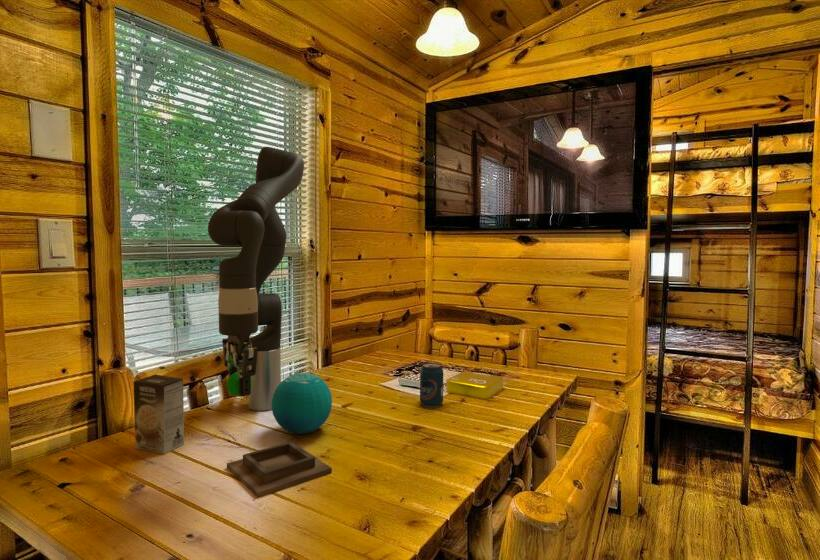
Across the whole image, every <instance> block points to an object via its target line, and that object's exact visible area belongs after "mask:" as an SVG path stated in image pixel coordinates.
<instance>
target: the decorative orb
mask: <svg viewBox="0 0 820 560" xmlns="http://www.w3.org/2000/svg"><path fill="white" fill-rule="evenodd" d="M332 405H333V396H332V391H331V389H330V387H329V386H328V384H327V383H326V382H325V381H324V380H323V379H322V378H321V377H319V376H317V375H315V374H313V373H309V372H298V373H294V374H292V375H290V376H288V377H286V378H284V379H283V380H281V383H280V384H279V385H278V387H277V389H276V390H275V392H274V395H273V398H272V409H271V411H272V412H271V413H272V415H273V417H274V419H275V421H276V423H277V424H278V425H279V426H280V427H281V428H282V429H284V430H285V431H287V432H288V433H291V434H297V435H305V434H308V433H312V432H314V431H316V430H318V429H319V428H321V426H323V425H324V424H325V422H326V421H327V419H328V418H329V417H330V414H331V411H332V407H333V406H332Z"/></svg>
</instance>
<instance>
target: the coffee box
mask: <svg viewBox="0 0 820 560" xmlns="http://www.w3.org/2000/svg"><path fill="white" fill-rule="evenodd" d="M133 403H134V405H133V407H134V410H133V411H134V412H133V413H134V438H135V439H134V443H135V447H134V448H135V449H137V450H138V449H139V450H143V451H148V452H151V453H156V454H162V455H166V454H169V452H172V451H174V450H175V449H178V448H180V447H182V446H183V445H185V420H184V419H185V416H184V414H185V411H184V410H185V408H184V407H185V406H184V378H182V377H181V378H180V377H174V376H168V375H161V374H153V375H150V376H147V377H143V378H140V379H137V380H134V381H133Z"/></svg>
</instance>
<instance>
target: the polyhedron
mask: <svg viewBox="0 0 820 560" xmlns="http://www.w3.org/2000/svg"><path fill="white" fill-rule="evenodd" d="M238 378H239V377H238V372H235V373H233V374H232V375H230V377H229V376H228V378H227V380H226V384H225V385H226V390H227V391H228V392H229V394H230V396H233V397H238V398H241V397H242V396H240V395H239V379H238ZM251 387H252V379H251Z"/></svg>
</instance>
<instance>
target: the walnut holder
mask: <svg viewBox="0 0 820 560" xmlns="http://www.w3.org/2000/svg"><path fill="white" fill-rule="evenodd" d="M226 468H227V470H229V472H230V473H232V474H233V475H234V476H235V478H237V479H238V480H239V481H240V482H241V483H242V484H243V485H244V486H245V487H246V488H247V489H248V490H249V491H250V492H251V493H252V494H253V495H254V496H255V497H256V498H262V497H264V496H267V495H269V494H273V493H275V492H279V491H282V490H284V489H288V488H290V487H293V486H296V485H300V484H302V483H305V482H308V481H311V480H314V479H317V478H320V477H323V476H326V475H329V474H332V472H333V471H332V470H333V469H332V467H331V466H330V465H328V464H327V463H325V462H324V461H322V460H321V459H319V458H318V457H316V456H315V455H313V454H311V453H310V452H309V451H307V450H306V449H305V448H302V447H301V446H300V445H298V444H297V443H294V442H293V441H288V442H285V443H280V444H277V445H273V446H270V447H266V448H262V449H259V450H255V451H251V452H248V453H245V454H242V458H241V459H238V460H237V459H236V460H234V461H230V462H226Z"/></svg>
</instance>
